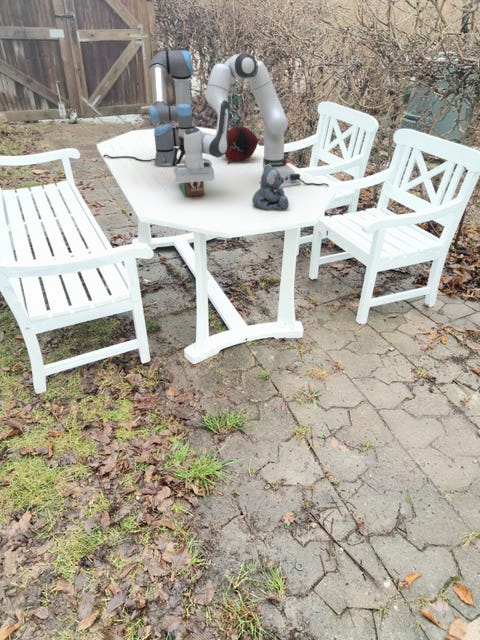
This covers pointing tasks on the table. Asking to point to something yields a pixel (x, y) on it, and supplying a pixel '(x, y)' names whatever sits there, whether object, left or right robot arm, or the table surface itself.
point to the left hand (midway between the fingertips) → (189, 177)
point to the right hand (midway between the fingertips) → (195, 189)
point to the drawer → (194, 191)
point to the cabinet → (183, 187)
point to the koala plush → (270, 191)
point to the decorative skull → (240, 144)
